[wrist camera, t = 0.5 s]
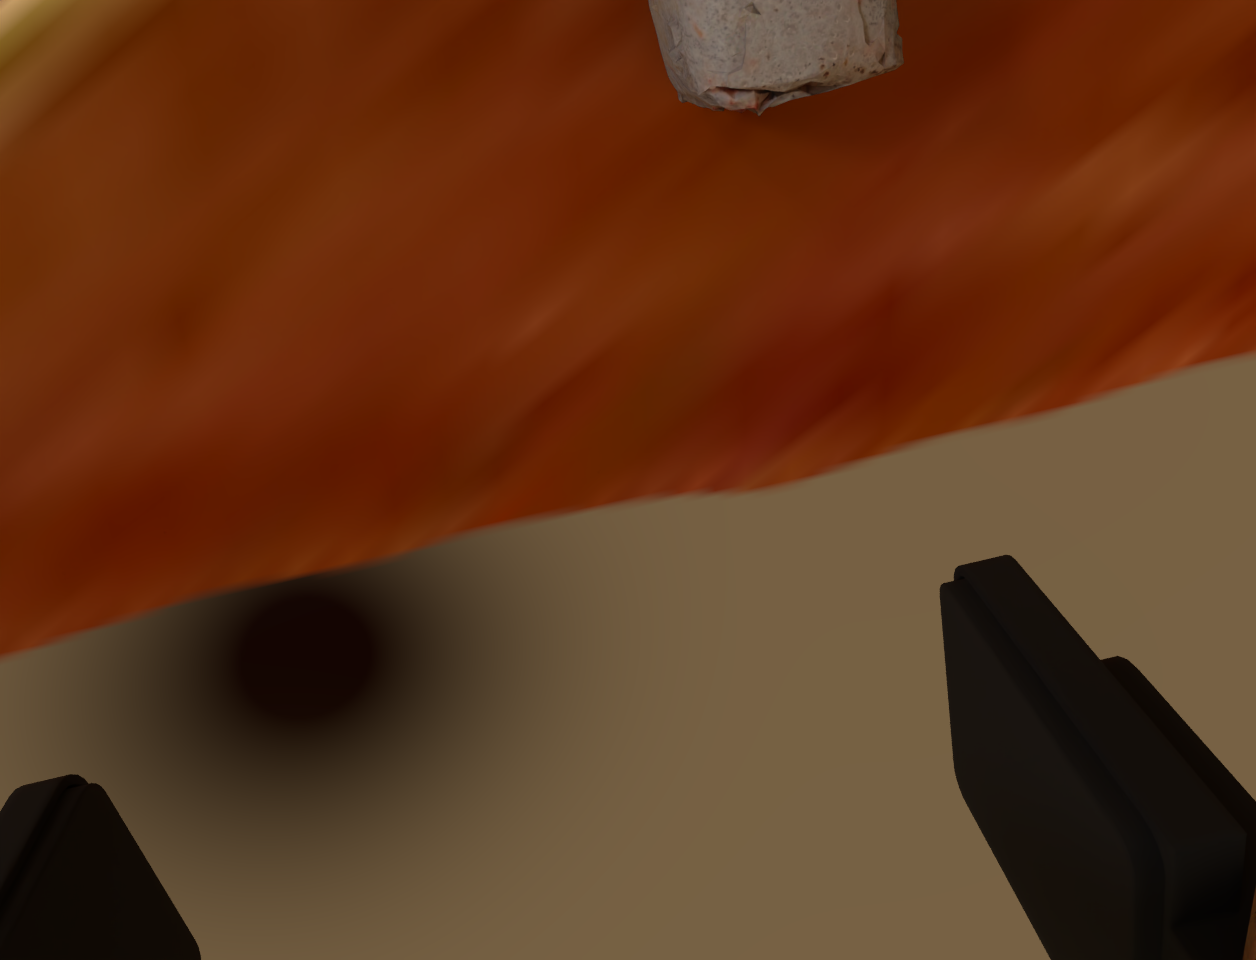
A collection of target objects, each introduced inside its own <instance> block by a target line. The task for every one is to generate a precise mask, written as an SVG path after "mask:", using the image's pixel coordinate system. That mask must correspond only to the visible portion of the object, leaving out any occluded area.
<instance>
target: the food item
mask: <svg viewBox="0 0 1256 960" xmlns="http://www.w3.org/2000/svg"><path fill="white" fill-rule="evenodd" d="M648 1H649V7H650V11H651V14H652V18H653V22H654V25H655V29H656V33H657V37H658V41H659V45H660V50H661V54H662V57H663V60H664V64H665V67H666V70H667V74H668V77H669V79H670V81H671V83H672V84H673V86H674V87H675V89H676V90H677V91H678V98H679V100H680V101H681V102H682V103H684V102H687V101H688V102H690V103H692V104H696V105H697V106H699V107H704V108H705V107H707V108H710V109H712V110H713V111H724V108H726V109H728V110H730V111H731V110H734V111H737V112H740V113H742V112H744V111H745V110H747V109H748V110H750V111H752V112H754V113H756V114H757V115H758V116H760V115H761V114H762V112H763V111H764V110H765V109H766V108H767V107H775V106H777V105H779V104H782V103H784V102H786V101H788V100H792V99H797V98H801V97H805V96H811V95H815V94H819V93H823V92H827V91H831V90H834V89H838V88H841V87H844V86H847V85H851V84H853V83H856V82H859V81H862V80H865V79H868V78H871V77H874V76H877V75H880V74H883V73H887V72H890V71H893V70H895V69H897V68H898V67H899V66H901V65H902V64H903V63H904V60H903V53H902V38H901V37H900V36H899V35H898V34H897V30H898V27H899V20H898V12H897V4H896V0H648Z"/></svg>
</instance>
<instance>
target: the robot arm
mask: <svg viewBox="0 0 1256 960" xmlns="http://www.w3.org/2000/svg"><path fill="white" fill-rule="evenodd" d="M940 603H941V615H942V628H943V639H944V651H945V663H946V676H947V688H948V700H949V713H950V724H951V737H952V749H953V761H954V769H955V774H956V778H957V782H958V785H959V788H960V791H961V793H962V796H963V798H964V800H965V802H966V804H967V806H968V807H969V809H970V811H971V813H972V815H973V817H974V819H975V820H976V822H977V824H978V826H979V828H980V830H981V831H982V833H983V835H984V837H985V839H986V841H987V842H988V844H989V846H990V848H991V850H992V852H993V854H994V856H995V857H996V859H997V861H998V863H999V865H1000V867H1001V868H1002V870H1003V872H1004V874H1005V876H1006V878H1007V880H1008V881H1009V883H1010V885H1011V887H1012V889H1013V891H1014V892H1015V894H1016V896H1017V898H1018V900H1019V902H1020V904H1021V905H1022V907H1023V909H1024V911H1025V913H1026V914H1027V916H1028V918H1029V920H1030V922H1031V924H1032V925H1033V928H1034V929H1035V931H1036V933H1037V935H1038V937H1039V939H1040V940H1041V942H1042V944H1043V946H1044V948H1045V949H1046V952H1047V953H1048V955H1049V957H1050V959H1051V960H1256V801H1255V800H1254V799H1253V798H1252V797H1251V796H1250V794H1249V793H1248V792H1247V791H1246V790H1245V789H1244V788H1243V787H1242V786H1241V784H1240V783H1239V782H1238V781H1237V780H1236V779H1235V778H1234V777H1233V775H1232V774H1231V773H1230V772H1229V771H1228V770H1227V769H1226V768H1225V766H1224V765H1223V764H1222V763H1221V762H1220V761H1219V760H1218V758H1217V757H1216V756H1215V755H1214V754H1213V753H1212V752H1211V751H1210V750H1209V748H1208V747H1207V746H1206V745H1205V744H1204V743H1203V742H1202V740H1201V739H1200V738H1199V737H1198V736H1197V735H1196V734H1195V733H1194V732H1193V731H1192V729H1191V728H1190V727H1189V726H1188V725H1187V724H1186V722H1185V721H1184V720H1183V719H1182V718H1181V717H1180V716H1179V715H1178V714H1177V712H1176V711H1175V710H1174V709H1173V708H1172V707H1171V706H1170V704H1169V703H1168V702H1167V701H1166V700H1165V699H1164V698H1163V697H1162V695H1161V694H1160V693H1159V692H1158V691H1157V690H1156V689H1155V688H1154V686H1153V685H1152V684H1151V683H1150V682H1149V681H1148V680H1147V679H1146V678H1145V676H1144V675H1143V674H1142V673H1141V672H1140V671H1139V670H1138V669H1137V668H1136V667H1135V666H1134V665H1133V664H1132V663H1131V662H1130V661H1128V660H1127V659H1125V658H1122V657H1119V656H1116V657H1112V658H1107V659H1103V660H1100V659H1099V658H1098V657H1097V656H1096V654H1095V653H1094V652H1093V651H1092V650H1091V649H1090V648H1089V646H1088V645H1087V644H1086V643H1085V641H1084V640H1083V639H1082V638H1081V637H1080V636H1079V634H1078V633H1077V632H1076V631H1075V630H1074V628H1073V627H1072V626H1071V625H1070V624H1069V622H1068V621H1067V620H1066V619H1065V618H1064V617H1063V616H1062V614H1061V613H1060V612H1059V611H1058V609H1057V608H1056V607H1055V606H1054V605H1053V604H1052V602H1051V601H1050V600H1049V599H1048V598H1047V596H1046V595H1045V594H1044V593H1043V592H1042V591H1041V590H1040V588H1039V587H1038V586H1037V585H1036V584H1035V582H1034V581H1033V580H1032V579H1031V578H1030V577H1029V575H1028V574H1027V573H1026V572H1025V571H1024V569H1023V568H1022V567H1021V566H1020V565H1019V564H1018V562H1017V561H1016V560H1015V559H1014V558H1013V557H1012V556H1010V555H1003V556H999V557H995V558H991V559H986V560H982V561H978V562H973V563H969V564H965V565H961V566H958V567H957V568H956V569H955V572H954V581H951V582H948V583H943V584H942V585H941V587H940ZM0 960H201V955H200V951H199V947H198V945H197V943H196V941H195V939H194V937H193V936H192V934H191V932H190V931H189V929H188V927H187V926H186V924H185V923H184V921H183V919H182V917H181V916H180V914H179V913H178V911H177V909H176V908H175V906H174V904H173V903H172V901H171V899H170V898H169V896H168V894H167V893H166V891H165V889H164V888H163V886H162V884H161V883H160V881H159V879H158V878H157V876H156V875H155V873H154V871H153V870H152V868H151V866H150V864H149V863H148V861H147V860H146V858H145V856H144V855H143V853H142V851H141V850H140V848H139V846H138V845H137V843H136V841H135V840H134V838H133V836H132V835H131V833H130V832H129V830H128V828H127V826H126V825H125V823H124V821H123V820H122V818H121V817H120V815H119V813H118V811H117V810H116V808H115V806H114V805H113V803H112V802H111V800H110V798H109V797H108V795H107V794H106V792H105V790H104V789H103V788H102V787H101V786H100V785H98V784H96V783H95V784H94V783H91V784H88V783H87V781H86V780H85V779H84V778H82V777H81V776H79V775H72V774H70V775H66V776H62V777H57V778H53V779H49V780H45V781H40V782H36V783H32V784H27V785H23V786H21V787H19V788H17V789H15V791H14V792H13V793H12V794H11V795H10V796H9V798H8V800H7V801H6V803H5V805H4V806H3V808H2V810H1V811H0Z"/></svg>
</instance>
